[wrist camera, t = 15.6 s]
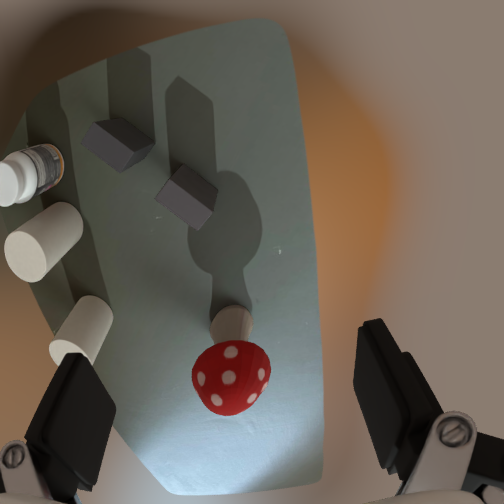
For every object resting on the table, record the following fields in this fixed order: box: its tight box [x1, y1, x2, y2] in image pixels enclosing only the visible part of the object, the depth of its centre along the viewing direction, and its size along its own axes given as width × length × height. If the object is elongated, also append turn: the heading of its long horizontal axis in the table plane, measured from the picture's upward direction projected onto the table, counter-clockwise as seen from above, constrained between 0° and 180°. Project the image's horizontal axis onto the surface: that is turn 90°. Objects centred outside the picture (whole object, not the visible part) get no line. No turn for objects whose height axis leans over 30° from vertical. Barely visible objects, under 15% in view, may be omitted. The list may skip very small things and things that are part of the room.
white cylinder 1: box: [4, 202, 83, 282], centre depth 32 cm, size 6×6×10 cm
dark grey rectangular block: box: [155, 164, 218, 231], centre depth 32 cm, size 5×2×8 cm, turn 50°
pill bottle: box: [0, 144, 64, 206], centre depth 29 cm, size 6×6×10 cm
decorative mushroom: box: [192, 305, 271, 416], centre depth 37 cm, size 10×9×15 cm
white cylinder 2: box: [49, 295, 113, 366], centre depth 38 cm, size 6×6×10 cm
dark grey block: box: [81, 118, 155, 173], centre depth 29 cm, size 5×2×8 cm, turn 50°
